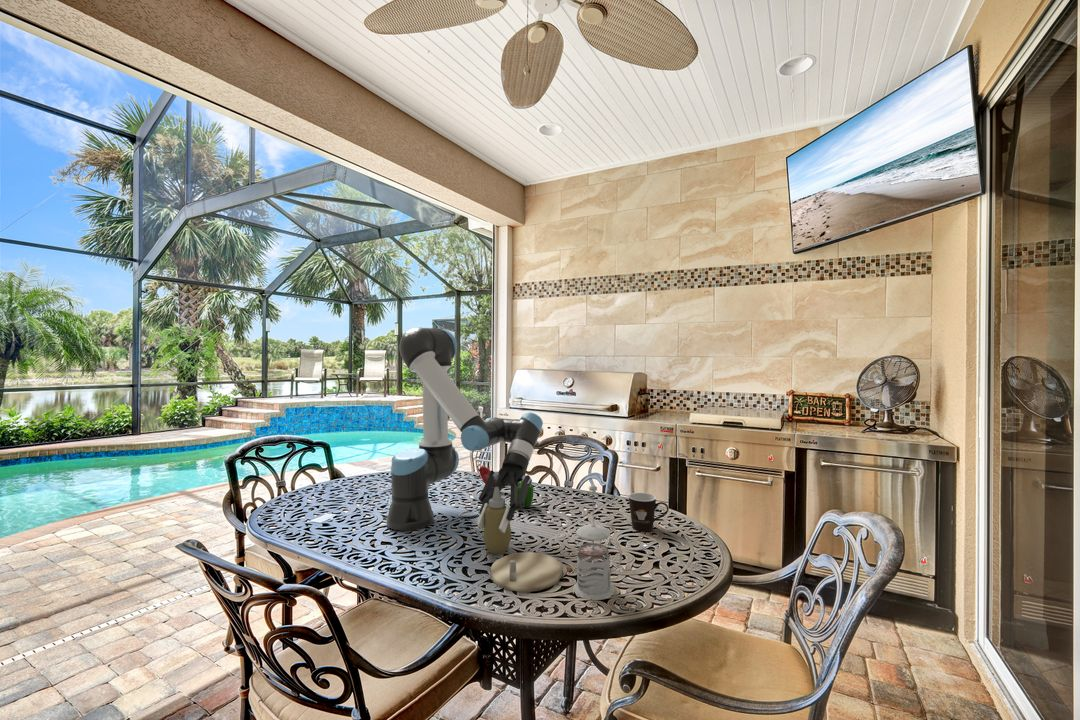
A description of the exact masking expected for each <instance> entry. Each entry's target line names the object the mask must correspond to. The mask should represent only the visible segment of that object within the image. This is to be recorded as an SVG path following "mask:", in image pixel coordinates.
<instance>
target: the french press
mask: <svg viewBox="0 0 1080 720" xmlns="http://www.w3.org/2000/svg"><path fill="white" fill-rule="evenodd" d="M588 490H589V491H590V492H592V523H591V524H584V525H581V526H580V527H579V528H577V529H576V532H575V534H576V535H577V537H578V538H580V539H583V540H585V541H592V542H588V543H587V542H586V543H582V544H580V545H579V547H577V548H578V550H577V551H578V552H577V554H576V556H577V557H576V558H577V559H576V566H577V567H576V569H577V571H576V573H577V574H576V575H577V577H576V578H577V580H576V581H577V582H576V583H575V584H574V585H573V588H572V591H573V592H574V593H575V595H577V596H578V597H580V598H582V599H585V600H589V601H601V600H606V599H608V598H610V597H612V596H611V595H613V594H614V593H615V588H614V586H613V585H612V584H611V581H612V580H611V573H613V572H616V571H618V569H619V568H620V566H621V563H622V559H623V550H622V547H621V546H620V544H619V542H617V541H616V540H615V539H613V538H609V537H610V536H611V530H609V529H608V528H606V527H604V526H603V525H599V524H597V523H596V524H595V523H594V522H595V520H594V518H595V517H594V516H595V515H594V506H595V504H594V502H595V501H594V500H595V498H594V497H595V496H594V495H595V494H594V492H596V491H598V487H597V486H596V485H595V484H591V485H590V486H589V487H588ZM608 538H609V540H608V542H607V543H608V544H607V545H608V546H607V545H603V544H601V543H598V542H597V541H603V540H606V539H608ZM613 541H614V542H615V543H614V542H613ZM611 544H612V545H614V546H615V547H616V548H617V550H618V553H619V562H618V564H616V565H615V566H613V567H611V568H610V564H611V563H610V562H611V561H610V559H611V558H610V553H608V552H609V548H608V547H610V546H611ZM603 556H604V557H605V558H606V559H605V558H604V557H603ZM589 557H590V558H589ZM587 558H588V559H587ZM583 559H586V560H583ZM594 560H596V561H594ZM600 560H602V561H600ZM586 569H587V570H586ZM582 570H583V571H582ZM609 596H610V597H609ZM607 597H608V598H607ZM591 599H592V600H591Z"/></svg>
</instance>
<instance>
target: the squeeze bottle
mask: <svg viewBox="0 0 1080 720" xmlns="http://www.w3.org/2000/svg"><path fill="white" fill-rule="evenodd" d="M506 507H507V505H506V498H503V497H502V495H501V491H500V490H499V487H495V488H494V493H493V498H492V499H490V500H489V507H487V508H486V511H485V522H484V527H483V533H482V535H483V536H482V538H483V542H484V544H485V548H486V550H487V552H488V553H490V554H495V555H496V554H503V553H505V552H507V551H508V549H509V548H510V547H509V546H510V543H511V540H512V530H511V528H512V527H511V521H509V522H508V525H507V528H506V531H505V533H502V532H501V530H500V529H499V526H500V523H501V521H502V518H503V515H504V513H505V510H506Z"/></svg>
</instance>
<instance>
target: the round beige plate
mask: <svg viewBox="0 0 1080 720" xmlns="http://www.w3.org/2000/svg"><path fill="white" fill-rule="evenodd" d="M562 571H563V570H562V564H561V563H560V561H559V560H558V559H556V558H555V557H553V556H552V555H548V554H545V553H540V552H530V551H529V552H525V551H524V552H515V553H510V554H507V555H505V556H502V557H500V558H498V559H497V560H495V561H494V562H493V563H492V565H491V568H490V578H491V580H492V581H493V583H494V584H496V585H497V586H499V587H501V588H503V589H505V590H509V591H514V592H521V593H522V592H537V591H542V590H545V589H548V588H550V587H552V586H554V585H556V584H557V583H558V582H559V581H560V580H561V578H562V574H563V573H562Z"/></svg>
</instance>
